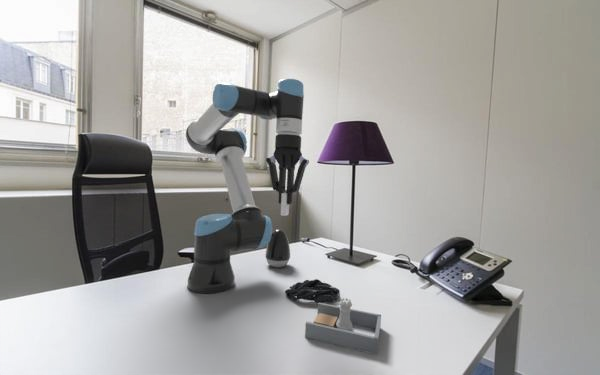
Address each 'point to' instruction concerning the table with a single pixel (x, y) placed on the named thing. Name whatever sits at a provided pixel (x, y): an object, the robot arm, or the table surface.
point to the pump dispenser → (278, 249)
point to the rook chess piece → (344, 315)
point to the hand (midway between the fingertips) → (284, 214)
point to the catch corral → (344, 336)
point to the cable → (315, 296)
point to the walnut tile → (326, 320)
